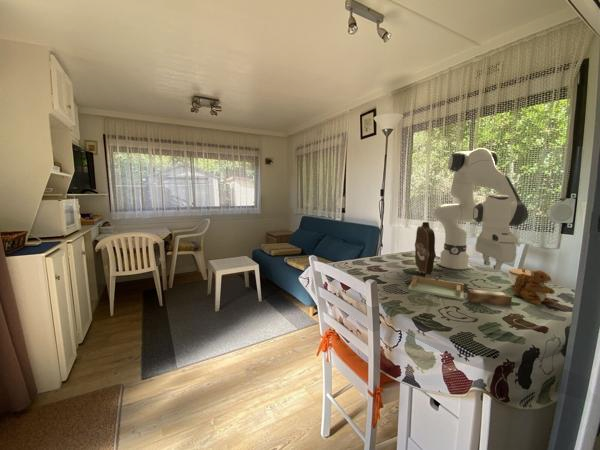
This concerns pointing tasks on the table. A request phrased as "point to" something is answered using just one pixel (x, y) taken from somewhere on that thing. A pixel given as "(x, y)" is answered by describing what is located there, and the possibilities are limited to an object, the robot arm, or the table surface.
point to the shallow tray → (437, 287)
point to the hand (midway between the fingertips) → (491, 267)
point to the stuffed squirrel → (533, 287)
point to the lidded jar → (515, 272)
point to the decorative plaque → (425, 249)
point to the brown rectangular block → (489, 297)
